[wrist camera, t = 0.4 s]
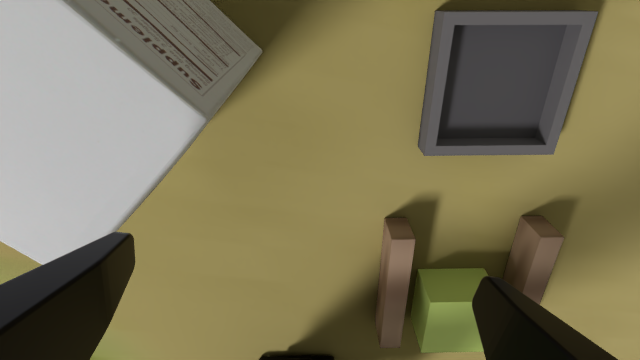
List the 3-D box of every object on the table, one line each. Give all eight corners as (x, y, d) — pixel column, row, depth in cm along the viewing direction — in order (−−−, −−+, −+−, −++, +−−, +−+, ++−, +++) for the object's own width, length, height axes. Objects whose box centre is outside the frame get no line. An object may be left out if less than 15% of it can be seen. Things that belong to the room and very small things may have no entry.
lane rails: (508, 319, 30) (524, 345, 28) (374, 321, 30) (380, 348, 28) (542, 215, 25) (564, 237, 23) (384, 217, 25) (391, 239, 23)
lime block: (470, 314, 30) (488, 351, 27) (409, 315, 30) (420, 352, 27) (482, 266, 28) (504, 301, 25) (417, 267, 28) (430, 302, 25)
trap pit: (539, 145, 23) (553, 154, 22) (417, 146, 23) (424, 155, 22) (578, 10, 20) (598, 11, 18) (435, 10, 19) (444, 11, 18)
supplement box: (188, 141, 22) (65, 289, 11) (76, 51, 20) (-227, 126, 9) (269, 51, 20) (216, 125, 9) (153, -63, 18) (-122, -160, 6)
